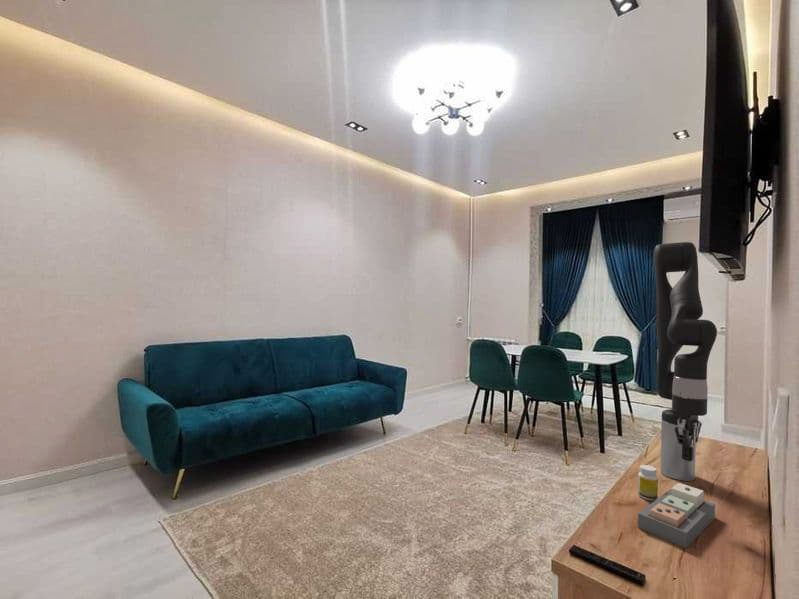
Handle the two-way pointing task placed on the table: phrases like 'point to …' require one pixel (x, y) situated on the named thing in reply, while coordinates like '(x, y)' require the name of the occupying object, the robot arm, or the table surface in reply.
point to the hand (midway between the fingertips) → (687, 459)
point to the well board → (685, 531)
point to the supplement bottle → (647, 483)
